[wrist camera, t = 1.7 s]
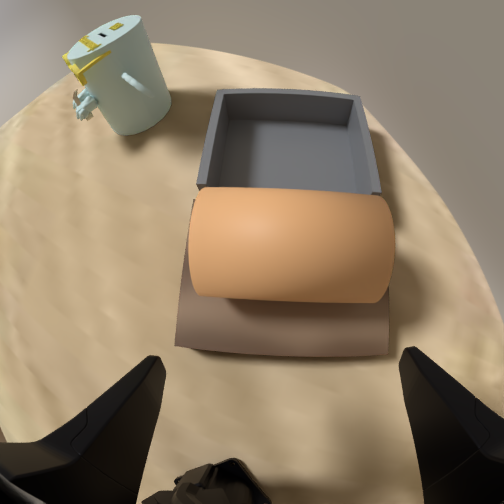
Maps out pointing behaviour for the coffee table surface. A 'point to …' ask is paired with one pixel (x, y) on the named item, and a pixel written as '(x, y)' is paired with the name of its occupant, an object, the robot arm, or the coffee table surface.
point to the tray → (289, 142)
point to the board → (279, 324)
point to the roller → (290, 245)
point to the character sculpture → (119, 76)
